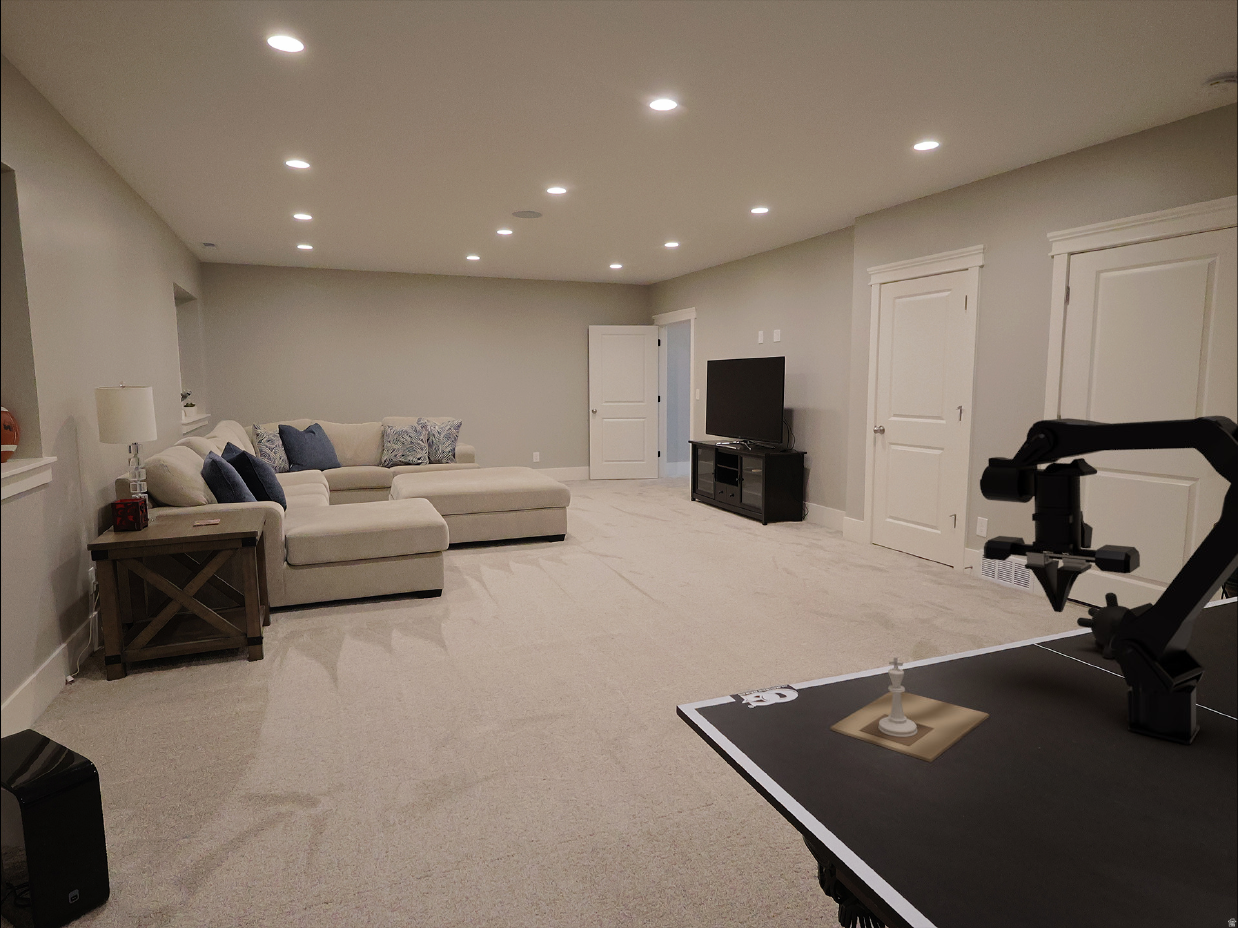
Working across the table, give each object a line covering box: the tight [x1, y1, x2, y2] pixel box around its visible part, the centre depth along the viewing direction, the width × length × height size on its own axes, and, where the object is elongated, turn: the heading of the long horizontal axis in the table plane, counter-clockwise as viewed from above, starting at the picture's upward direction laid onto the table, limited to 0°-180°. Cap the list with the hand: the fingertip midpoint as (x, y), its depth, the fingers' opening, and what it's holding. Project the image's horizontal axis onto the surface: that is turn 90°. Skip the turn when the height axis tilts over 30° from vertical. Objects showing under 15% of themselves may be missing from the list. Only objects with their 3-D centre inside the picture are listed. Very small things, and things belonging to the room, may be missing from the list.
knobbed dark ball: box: [1076, 592, 1130, 660], centre depth 122 cm, size 11×11×12 cm
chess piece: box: [879, 655, 917, 737], centre depth 97 cm, size 5×5×10 cm
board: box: [830, 690, 990, 763], centre depth 100 cm, size 14×18×1 cm
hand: (1058, 611), depth 105 cm, fingers closed
